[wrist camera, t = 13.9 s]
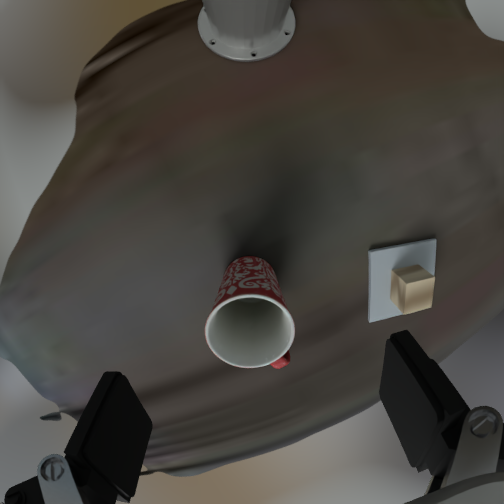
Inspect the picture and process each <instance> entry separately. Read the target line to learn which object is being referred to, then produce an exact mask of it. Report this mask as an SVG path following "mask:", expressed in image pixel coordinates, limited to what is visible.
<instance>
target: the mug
mask: <svg viewBox="0 0 504 504" xmlns="http://www.w3.org/2000/svg"><path fill="white" fill-rule="evenodd" d="M294 335H295V324H294V320H293V318H292V315H291V313H290V312H289V310H288V309H287V306H286V303H285V300H284V297H283V295H282V292H281V289H280V286H279V283H278V281H277V277H276V275H275V272H274V270H273V268H272V267H271V265H270V264H269V263H268V262H266V261H265V260H263V259H261V258H259V257H255V256H245V257H241V258H238V259H236V260H235V261H233V262H232V263H231V264H230V265H229V266H228V267H227V269H226V271H225V273H224V276H223V280H222V283H221V286H220V288H219V292H218V295H217V298H216V300H215V303H214V306H213V310H212V311H211V313H210V315H209V316H208V318H207V321H206V324H205V337H206V341H207V344H208V346H209V347H210V349H211V350H212V352H213V353H214V354H215V355H216V356H217V357H218V358H220V359H221V360H223V361H224V362H226V363H228V364H231V365H234V366H237V367H242V368H256V367H261V366H265V365H268V364H271V365H272V366H273V367H274V368H276V369H279V368H282V367H284V366H285V365H287V364H289V362H290V353H289V348H290V346H291V344H292V342H293V340H294Z"/></svg>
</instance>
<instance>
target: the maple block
mask: <svg viewBox="0 0 504 504" xmlns="http://www.w3.org/2000/svg"><path fill="white" fill-rule="evenodd" d="M434 281H435V277H434V276H433V275H432V274H430V273H429V272H428V271H427V270H425V269H424V268H423V267H421V266H420V265H419V264H417V265H413V266H408V267H403V268H398V269H393V270H391V291H390V300H391V301H392V302H393V303H394V304H395V305H396V306H397V308H398V309H399V310H400V311H401V312H402V313H403V315H405V314H409V313H413V312H416V311H420V310H423V309H427V308H430V307H431V305H432V298H433V290H434Z"/></svg>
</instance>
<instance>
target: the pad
mask: <svg viewBox="0 0 504 504" xmlns="http://www.w3.org/2000/svg"><path fill="white" fill-rule="evenodd" d="M368 254H369V305H368V321H369V322H374V321H378V320H382V319H386V318H390V317H394V316H397V315H401V314H403V313H402V312H401V311H400V310H399V309H398V308H397V306H396V305H395V304H394V303H393V302H392V301H391V300H390V291H391V270H393V269H398V268H403V267H408V266H413V265H417V264H419V265H420V266H421V267H423V268H424V269H425V270H427V271H428V272H429V273H430V274H432V275H433V276H434V271H435V257H436V239H434V238H432V239H427V240H422V241H416V242H411V243H406V244H400V245H395V246H390V247H384V248H379V249H373V250H368Z"/></svg>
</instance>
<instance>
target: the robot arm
mask: <svg viewBox="0 0 504 504" xmlns="http://www.w3.org/2000/svg"><path fill="white" fill-rule="evenodd" d="M202 1H203V4H204V6H203V7H202V10H201V12H200V14H199V18H198V30H199V33H200V36H201V38H202V40H203V42H204V43H205V44H206V46H207V47H208V48H209V49H210V50H212V51H213V52H214V53H216V54H218V55H219V56H221V57H224V58H227V59H230V60H235V61H243V62H250V61H258V60H262V59H266V58H269V57H271V56H273V55H275V54H277V53H278V52H280V51H281V50H282V49H283V48H284V47H286V46H287V44H288V43H289V41H290V40H291V38H292V36H293V34H294V30H295V16H294V12H293V10H292V9H291V7H290V3H291V0H202ZM285 34H288V35H285ZM212 43H215V44H214V45H211V44H212ZM253 54H254V55H256V56H255V57H252V55H253ZM379 394H380V398H381V401H382V403H383V405H384V407H385V409H386V411H387V413H388V416H389V418H390V420H391V422H392V424H393V427H394V429H395V431H396V433H397V435H398V438H399V440H400V442H401V445H402V447H403V449H404V451H405V454H406V456H407V458H408V461H409V463H410V465H411V466H412V467H416V468H417V470H418V472H421V471H423V470H426V469H429V471H430V473H431V475H432V477H431V480H430V483H429V485H428V487H427V490H426V492H425V494H424V496H422V497H419V498H417V499H414V500H412V501H410V502H407V503H404V504H504V423H503V419H502V417H501V415H500V413H499V412H498V411H497V410H496V409H494V408H492V407H489V406H479V407H475V408H474V409H472V410H470V408H469V407H468V405H467V404H466V403H465V401H464V400H463V398H462V397H461V395H460V394H459V393H458V391H457V390H456V388H455V387H454V386H453V384H452V383H451V382H450V381H449V379H448V378H447V376H446V375H445V373H444V372H443V371H442V369H441V368H440V367H439V365H438V364H437V363H436V362H435V361H434V360H433V359H430V358H429V357H428V356H427V354H426V353H425V352H424V350H423V349H422V348H421V347H420V345H419V344H418V343H417V341H416V340H415V339H414V338H413V336H412V335H411V334H410V332H409V331H408V330H404V331H400V332H397V333H393V334H391V336H390V339H387V341H386V348H385V356H384V364H383V371H382V377H381V384H380V390H379ZM151 431H152V421H151V419H150V417H149V416H148V414H147V413H146V411H145V409H144V408H143V406H142V404H141V403H140V401H139V399H138V397H137V396H136V394H135V392H134V390H133V389H132V387H131V385H130V383H129V381H128V379H127V378H126V376H124V375H122V373H121V372H105V373H104V374H103V376H102V377H101V379H100V381H99V383H98V385H97V387H96V389H95V390H94V392H93V394H92V396H91V398H90V400H89V402H88V404H87V406H86V408H85V410H84V412H83V414H82V415H81V417H80V419H79V421H78V423H77V426H76V428H75V430H74V432H73V434H72V436H71V438H70V440H69V442H68V444H67V446H66V448H65V451H64V453H65V454H66V455H65V458H64V457H63V456H61V455H58V454H51V455H48V456H46V457H45V458H43V459H42V460H41V462H40V463H39V465H38V469H37V474H38V476H36V477H33V478H31V479H29V480H27V481H24V482H22V483H20V484H17V485H15V486H13V487H11V488H9V490H8V491H7V492H6V494H5V499H4V500H5V504H115V503H116V500H117V501H122V502H127V503H130V499H131V497H133V496H134V495H135V491H136V487H137V483H138V479H139V476H140V472H141V468H142V464H143V460H144V456H145V453H146V449H147V445H148V442H149V438H150V434H151ZM0 504H4V503H3V502H1V503H0Z"/></svg>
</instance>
